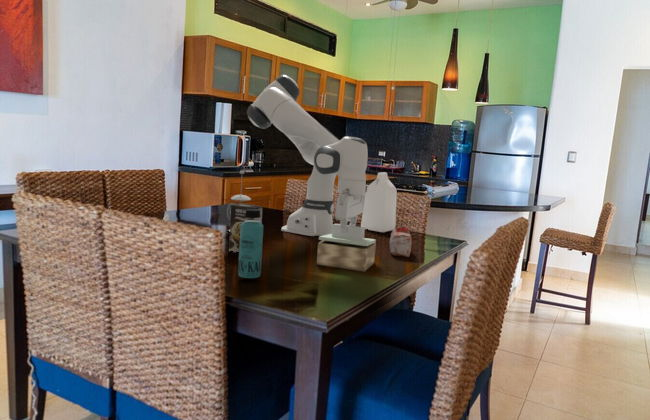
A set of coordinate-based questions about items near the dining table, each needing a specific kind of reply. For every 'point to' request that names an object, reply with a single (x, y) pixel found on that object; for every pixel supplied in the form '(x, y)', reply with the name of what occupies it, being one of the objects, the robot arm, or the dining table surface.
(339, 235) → the white rectangular block
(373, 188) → the milk
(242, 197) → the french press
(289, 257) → the dining table surface
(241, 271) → the beverage bottle
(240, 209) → the coffee box
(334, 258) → the box
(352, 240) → the lid
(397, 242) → the food item
